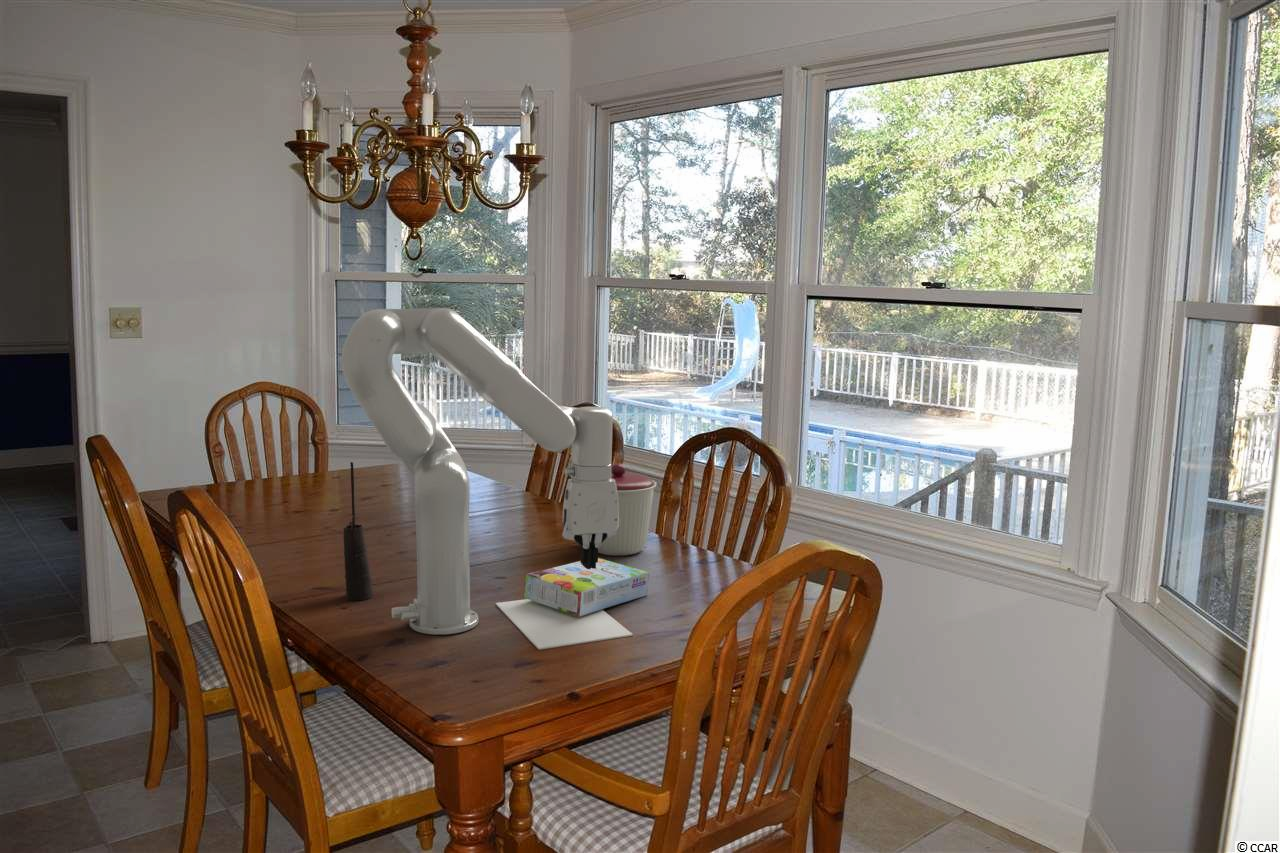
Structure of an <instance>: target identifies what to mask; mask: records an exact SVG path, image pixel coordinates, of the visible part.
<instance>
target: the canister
mask: <svg viewBox="0 0 1280 853" xmlns="http://www.w3.org/2000/svg"><path fill="white" fill-rule="evenodd" d="M611 478H612V479H614V480H615V482H616V487H617V494H618V505H619V527H618V529H617V530H616V531H617V534H616V535H613V536H611V537H607V538H606V539H605V540H604V541H603V542H602V543H601V546H600V547H599V548H598V554H602V555H604V556H605V555H606V556H614V557H616V556H619V557H620V556H621V557H623V556H630V555H634V554H637V553H640V552H642V550H643V549H644V548H645V546H646V543H647V540H648V535H649V527H650V522H651V515H652V514H651V513H652V506H653V498H654V490H655V488H656V487H657V482H656V481H655V480H653V479H651V478H650V476H648V475H645V474H641V473H635V472H628V471H627V467H626V466H625V464H623V463H620V462H619V463H614V464H613V465H612V464H611ZM590 537H591V534H588V539H589V543H590Z"/></svg>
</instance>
